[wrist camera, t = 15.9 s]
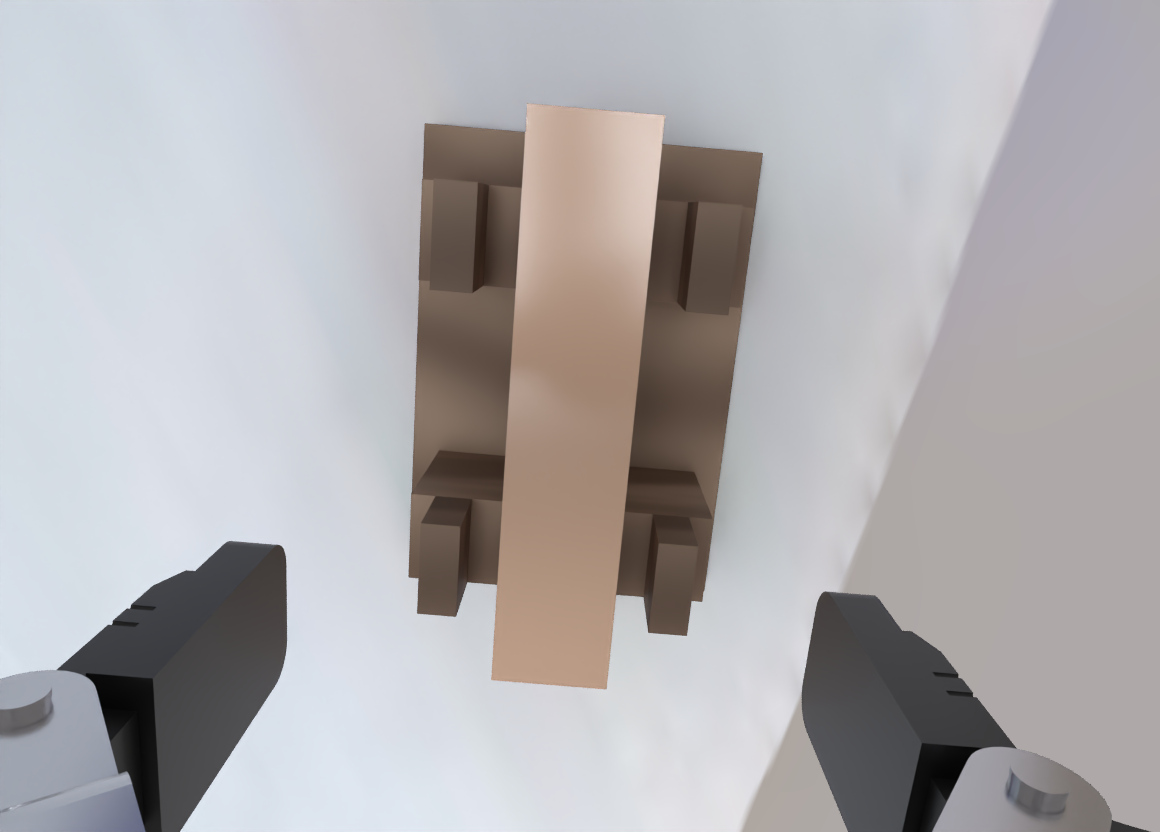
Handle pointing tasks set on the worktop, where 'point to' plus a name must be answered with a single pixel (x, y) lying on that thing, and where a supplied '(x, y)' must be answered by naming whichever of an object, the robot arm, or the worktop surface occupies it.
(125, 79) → the worktop surface
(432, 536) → the pegged brown baseplate
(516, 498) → the clay strip
